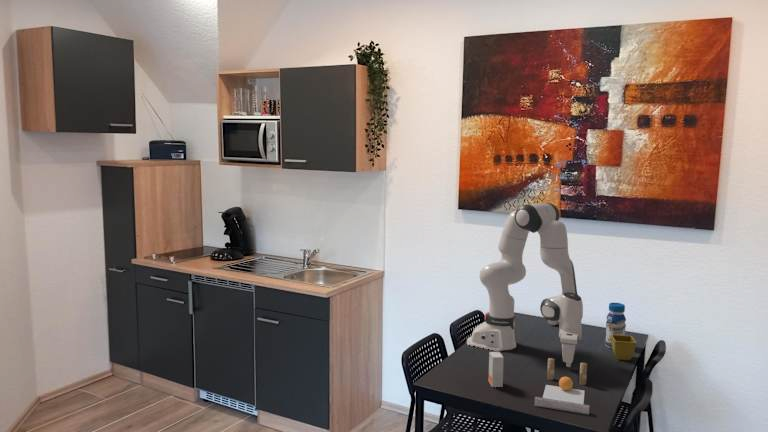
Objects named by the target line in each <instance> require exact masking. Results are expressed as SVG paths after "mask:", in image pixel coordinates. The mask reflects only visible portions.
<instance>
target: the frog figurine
mask: <svg viewBox="0 0 768 432" xmlns="http://www.w3.org/2000/svg"><path fill="white" fill-rule="evenodd" d="M547 322H548V324H549V325H550V326H556V325H558V323H559V322H558V321H550V320H547Z"/></svg>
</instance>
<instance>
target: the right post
mask: <svg viewBox="0 0 768 432" xmlns="http://www.w3.org/2000/svg"><path fill="white" fill-rule="evenodd" d="M587 372H588V363H587V362H580V364H579V381H578V384H579V385H581V386H586V385H587V374H588V373H587Z"/></svg>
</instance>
